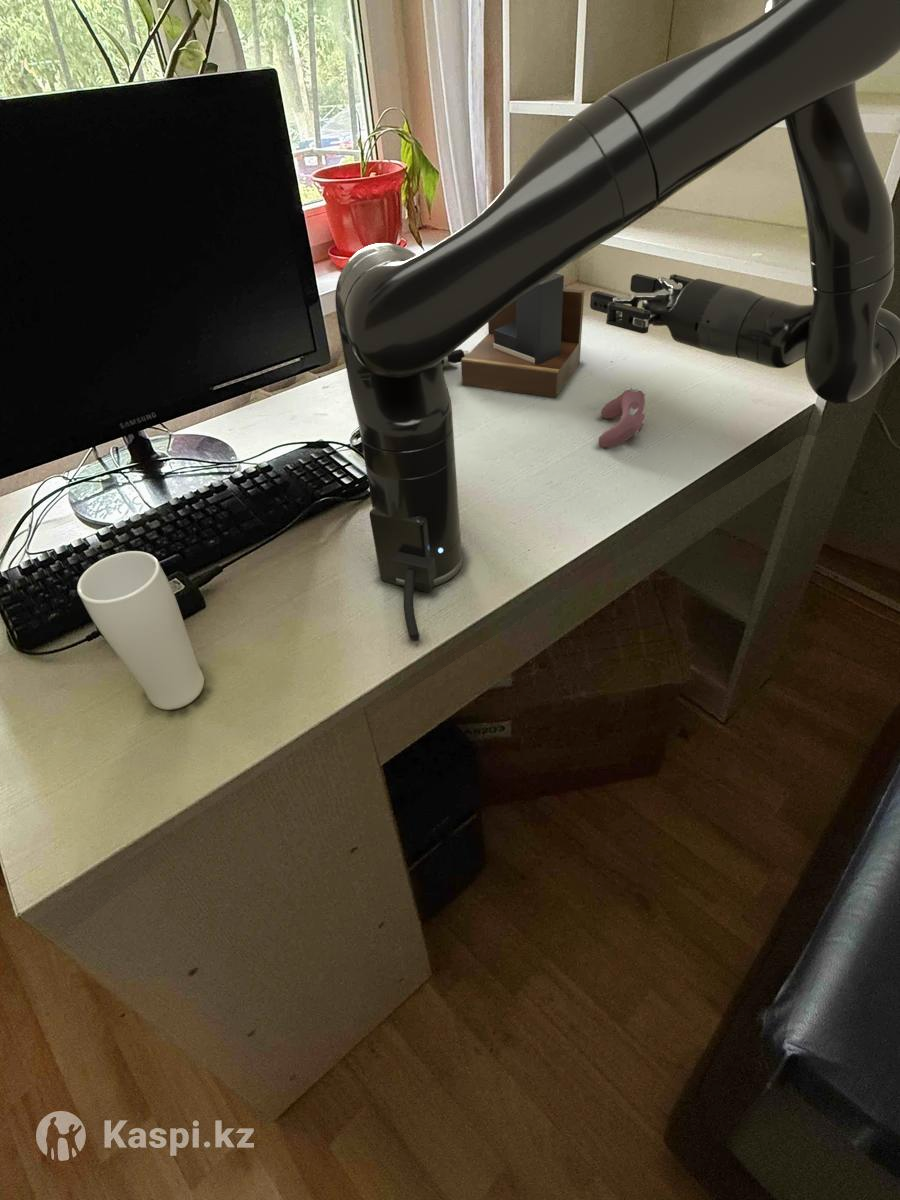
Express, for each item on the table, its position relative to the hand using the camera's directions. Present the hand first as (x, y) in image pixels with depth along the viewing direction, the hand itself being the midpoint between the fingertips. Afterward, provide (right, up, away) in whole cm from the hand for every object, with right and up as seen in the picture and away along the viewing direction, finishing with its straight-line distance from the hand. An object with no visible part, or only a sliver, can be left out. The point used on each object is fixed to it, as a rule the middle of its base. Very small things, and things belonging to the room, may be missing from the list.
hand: (612, 290), depth 92 cm
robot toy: (-27, -4, +24) cm, 36 cm away
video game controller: (+2, -18, +6) cm, 19 cm away
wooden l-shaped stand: (-10, -4, +21) cm, 24 cm away
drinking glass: (-49, -51, -25) cm, 75 cm away
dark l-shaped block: (-10, -1, +18) cm, 21 cm away
